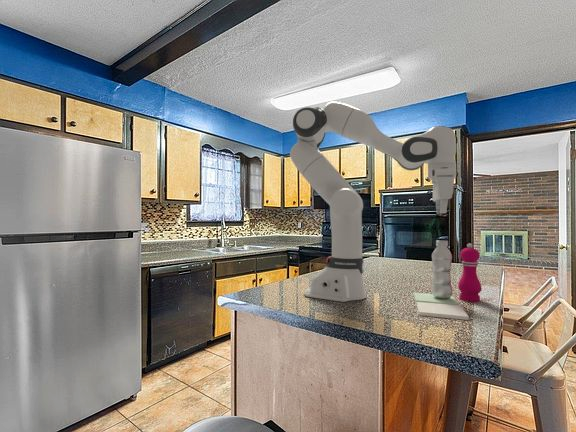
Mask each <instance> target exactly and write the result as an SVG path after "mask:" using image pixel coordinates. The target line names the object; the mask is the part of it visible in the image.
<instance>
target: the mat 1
mask: <svg viewBox="0 0 576 432" xmlns="http://www.w3.org/2000/svg"><path fill="white" fill-rule="evenodd" d="M413 297H414V303H416V302H425V303H436V304H448V305H459V306H460V304H459V302H458V301H457V300H456V298H455V296H454V295H452V296H451V297H450V298H446V299H441V298H438V297H435V296H433V294H432V293H425V292H413Z"/></svg>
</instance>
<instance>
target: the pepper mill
mask: <svg viewBox="0 0 576 432" xmlns="http://www.w3.org/2000/svg"><path fill="white" fill-rule="evenodd" d="M480 256H481V255H480V252H479V250H477V249H476V248H473V244H472V243H467V244H466V247H465V248H463V249H461V251H460V253H459V257H460V259H461V265H462V268H463V270H462V275H461V276H460V279H459V281H458V283H457V284H458V285H457V288H458V290H459V291H460V293H459V299H460V300H461V301H465V302H470V303H478V302H480V301H481V296H480V295H479V294H480V293H481V292H482V290H483V289H482V283H481V281H480V279H479V277H478V275H477V267H478V266H479V262H478V260H479V259H480V258H481V257H480Z"/></svg>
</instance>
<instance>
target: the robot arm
mask: <svg viewBox="0 0 576 432" xmlns="http://www.w3.org/2000/svg"><path fill="white" fill-rule="evenodd" d="M292 127H293V131H294V132H295V134H296V136H297V142H296V143H295V144H293V146H291V149H290V152H289V156H290V157H289V158H290V159H291V161H292V163H293V165H294V167H296V169H297V170H298V172H299V174H301V175H302V177H303V178H304V179H305V180H306V182H307V183H308V184H309V185H310V186H311V188H312V189H313V190H314V191H315V192H316V193H317V194H318V196H320V197H321V198H322V199H323V200H324V201H325V202H326V203H327V204H328V206H329V217H330V219H329V220H330V229H331V255H330V256H328V257H327V258H326V260H325V265H326V266H325V267H324V268H323V269H321V270H320V271H319V272H318V273H316V274H315V275H313V276H312V279H311V282H310V287H309V288H306V289H305V290H304V293H303V294H304V296H305V297H307V298H315V299H319V300H320V299H322V300H327V301H335V302H342V303H343V302H345V303H346V302H349V301H359V300H364V299H366V298H367V293H366V290H365V289H366V288H365V284H364V274H363V273H364V271H365V269H364V266H365V264H364V263H365V262H364V257H363V220H362V219H363V217H362V215H363V209H364V202H363V199H362V197H361V196H360V194H359V193H358V192H357V191H356V190H355V188H353V187H352V186H351V185H350V184H349V182H348V181H347V180H346V178H344V177H343V176H342V174H341V173H340V172H339V171H338V170H337V169H336V167H335V166H334V165H333V164H332V163H331V162H330V160H328V158H327V157H326V156H325V155H324V154H323V153H322V152H321V151H320V149H319V148H320V147H321V144H322V143H323V142H324V140H325V136H326V133H335V134H337V135H339V136H340V137H343V138H345V139H348V140H349V141H350V140H351V141H353V142H356V143H359V144H362V145H365V146H367V147H370V148H372V149H375V150H377V151H379V152H381V153H382V154H385V155H387V156H388V157H391V158H392V159H393V160H395V161H396V163H398V165H399V166H400V167H401V168H403V169H404V170H406V171H416V170H419V169H421V168H422V167H423V166H424V165H425V164H427V180H429V181H431V184H432V201H433V202H434V203H435V209H436V214H437V215H438V214H439V215H441V214H446V213H448V210H447V209H448V204H449V200H450V199H452V198H453V194H454V185H455V179H456V178H457V162H456V154H457V139H456V134H455V130H454V129H453V128H450V126H449V127H448V126H442V125H438V126H433V127H431V128H430V129H429V130H427V131H425V132H423V133H422V134H418V135H416V136H412V137H409V138H408V139H406V140H405V141H404V142H403V143H402V142H401V141H398V140H396V139H394V138H392V137H391V136H389V135H386V134H385V133H383V131H381V130H380V128H378V126H377V125H376V123H375V121H374V119H373V118H372V116H370V115H369V114H367V112H364V111H363V110H361V109H359V108H356V107H354V106H352V105H349V104H346V103H341V102H337V101H330V102H327V104H326V105H325V106H324V107H323V108H322V107H318V106H317V107H309V106H308V107H306V106H305V107H303V108H300V109H299V110H297V111H296V112H295V114H294V116H293V118H292Z"/></svg>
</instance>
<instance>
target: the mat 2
mask: <svg viewBox="0 0 576 432" xmlns="http://www.w3.org/2000/svg"><path fill="white" fill-rule="evenodd" d="M415 305H416V309H417V313H418V316H423V317H432V318H433V317H434V318H445V319H452V320H455V319H456V320H463V321H465V320H466V321H469V320H470V317H469V315H468V313H467V312H466V311H465V309H463V307H462V306H461V305H460V304H459V305H448V304H436V303H425V302H415Z"/></svg>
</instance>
